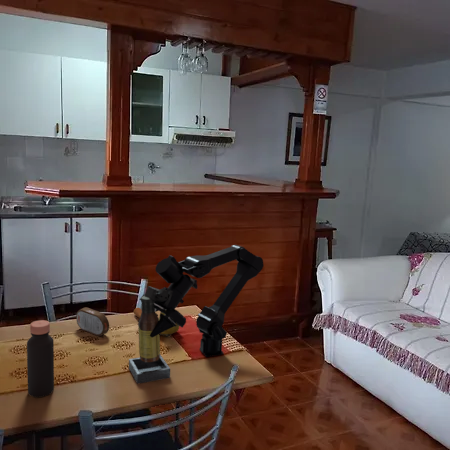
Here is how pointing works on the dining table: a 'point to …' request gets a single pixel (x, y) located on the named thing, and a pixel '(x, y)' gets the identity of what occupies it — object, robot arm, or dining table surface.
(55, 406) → the dining table surface
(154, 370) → the grey square tray
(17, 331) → the dining table surface
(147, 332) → the sauce bottle
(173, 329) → the decorative figurine
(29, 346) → the dark grey water bottle
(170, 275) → the robot arm
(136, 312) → the kendama
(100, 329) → the wooden speaker
